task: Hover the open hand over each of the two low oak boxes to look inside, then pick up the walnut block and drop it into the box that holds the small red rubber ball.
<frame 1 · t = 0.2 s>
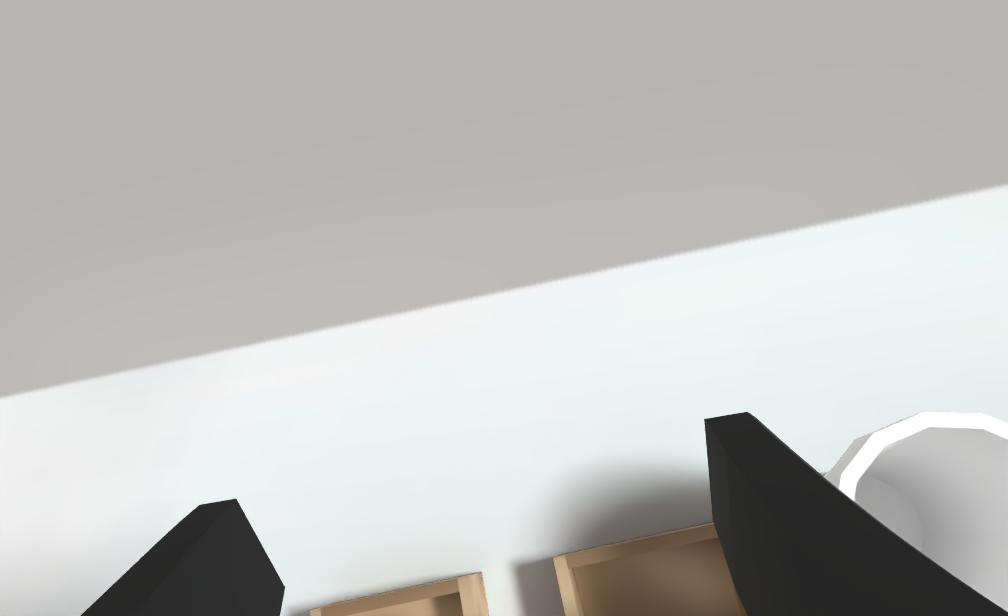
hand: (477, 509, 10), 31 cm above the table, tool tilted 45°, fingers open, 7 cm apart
foam cup: (858, 529, 35), on the table
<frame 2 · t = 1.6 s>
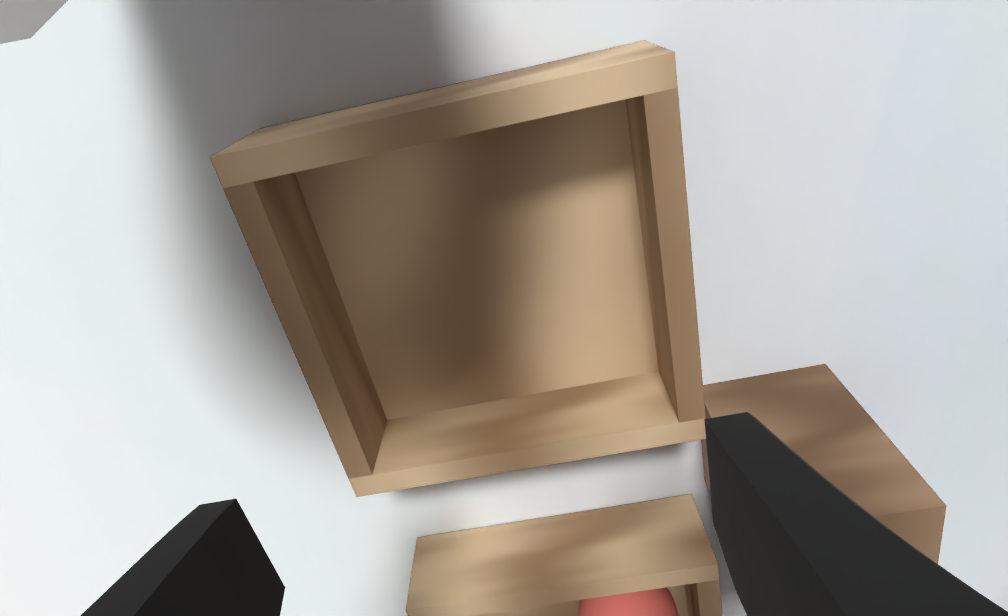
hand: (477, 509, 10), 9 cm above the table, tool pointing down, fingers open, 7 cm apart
walnut block: (761, 424, 21), on the table
box with ball: (573, 607, 25), on the table
box empty: (489, 265, 18), on the table
red ball: (620, 576, 23), resting on box with ball
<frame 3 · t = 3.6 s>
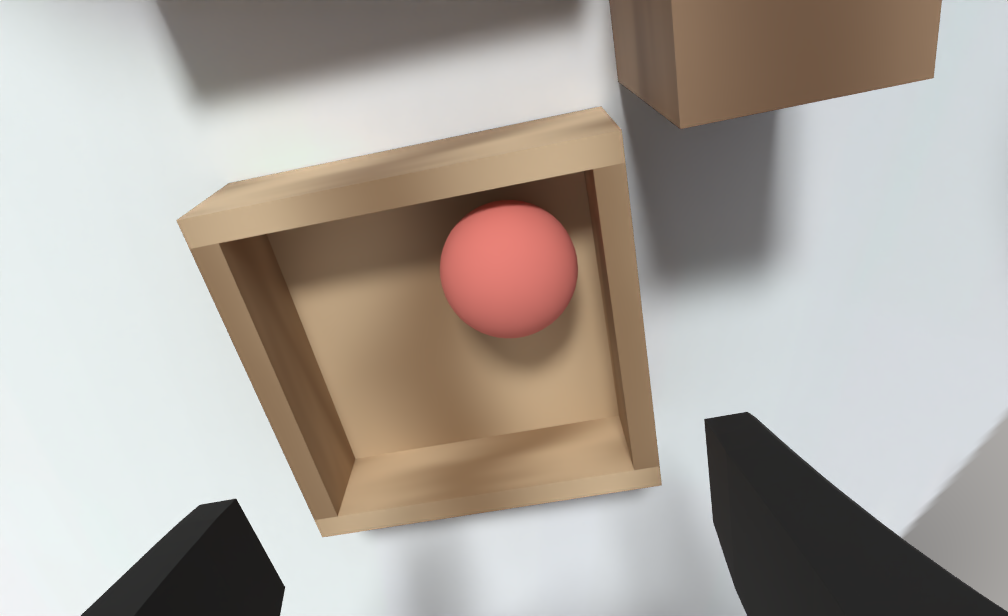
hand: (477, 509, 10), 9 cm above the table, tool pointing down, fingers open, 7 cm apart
box with ball: (454, 313, 18), on the table
red ball: (508, 244, 17), resting on box with ball
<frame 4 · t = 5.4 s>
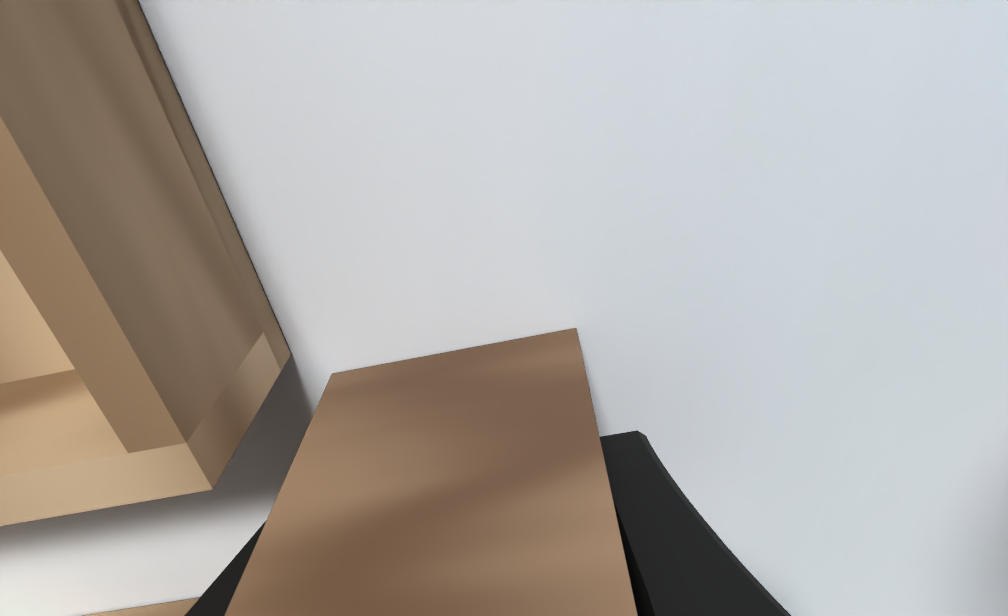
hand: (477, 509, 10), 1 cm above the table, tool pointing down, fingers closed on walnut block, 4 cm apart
walnut block: (480, 448, 11), on the table, touching gripper
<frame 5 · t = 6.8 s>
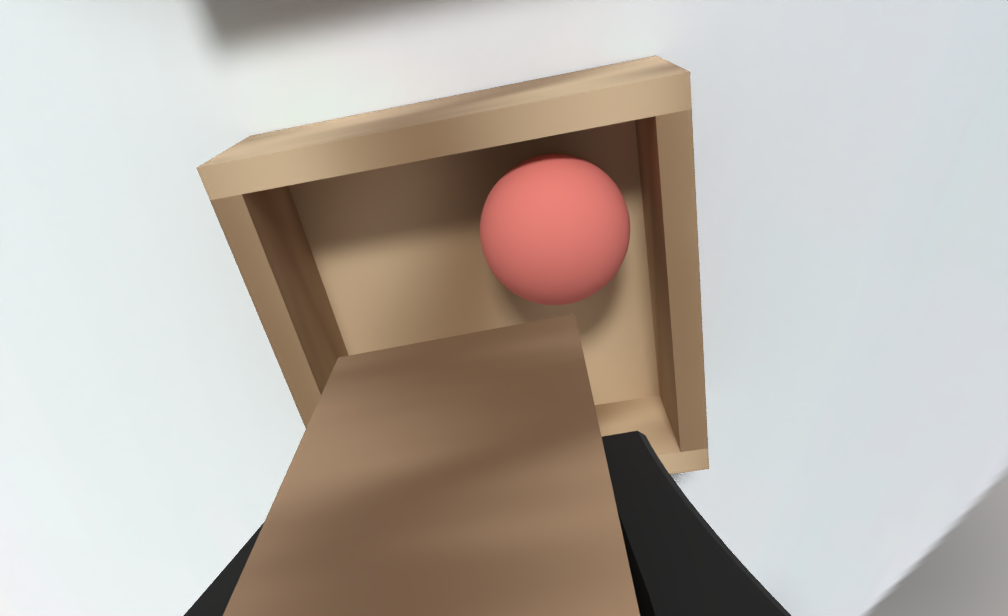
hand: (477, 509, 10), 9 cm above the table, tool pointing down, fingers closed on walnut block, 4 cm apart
walnut block: (481, 431, 11), point 7 cm above the table, touching gripper
box with ball: (488, 282, 17), on the table
red ball: (549, 206, 16), resting on box with ball
when the fingers open (4 cm above the table, at t = 8.1 s): walnut block drops 2 cm, resting on box with ball.
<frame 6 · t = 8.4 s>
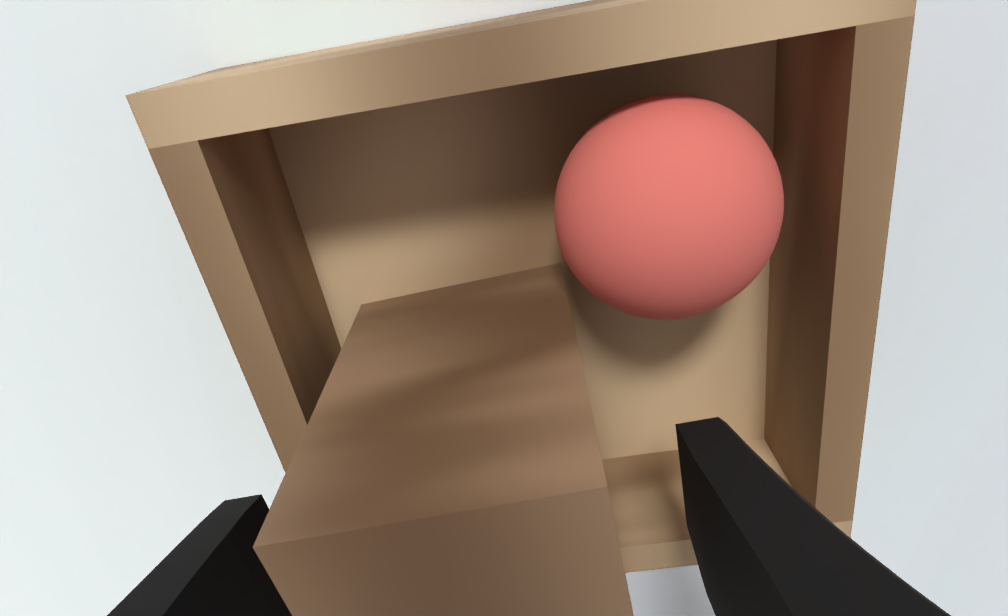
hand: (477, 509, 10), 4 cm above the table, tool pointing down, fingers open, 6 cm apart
walnut block: (483, 368, 13), resting on box with ball
box with ball: (544, 284, 13), on the table
red ball: (642, 179, 11), resting on box with ball
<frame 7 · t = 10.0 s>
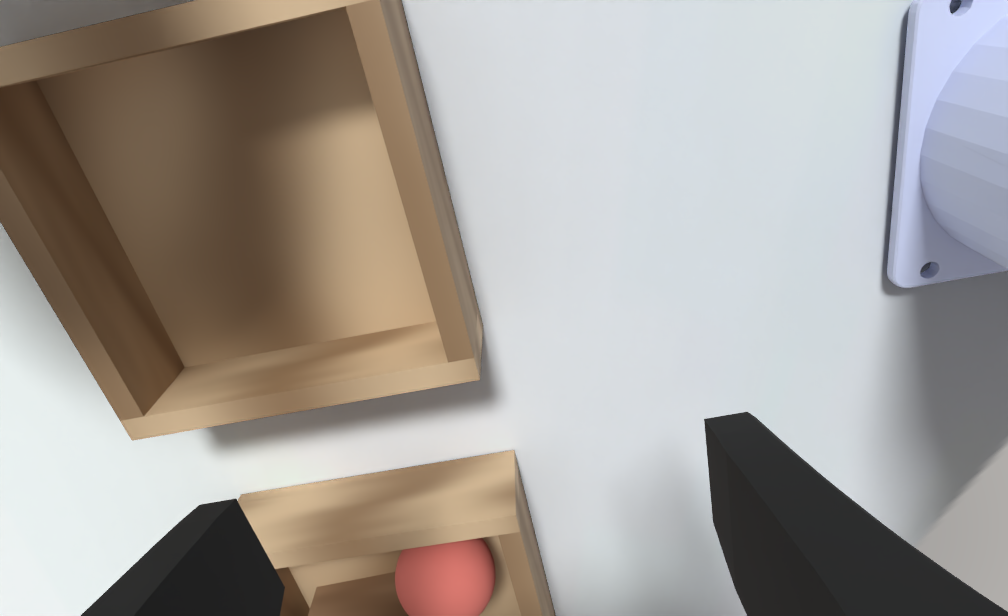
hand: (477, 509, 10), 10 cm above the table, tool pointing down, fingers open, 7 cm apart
walnut block: (383, 611, 25), resting on box with ball
box with ball: (412, 569, 24), on the table
box empty: (270, 204, 17), on the table
red ball: (449, 535, 23), resting on box with ball
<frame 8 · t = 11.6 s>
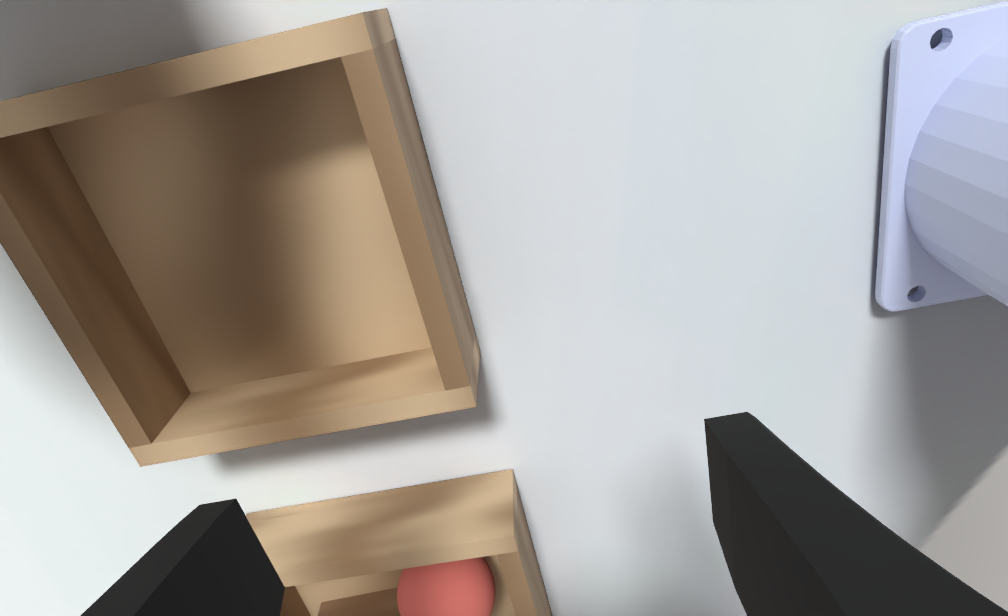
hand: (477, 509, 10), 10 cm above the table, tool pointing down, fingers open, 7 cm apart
box with ball: (414, 584, 25), on the table
box empty: (271, 236, 18), on the table
red ball: (450, 552, 23), resting on box with ball
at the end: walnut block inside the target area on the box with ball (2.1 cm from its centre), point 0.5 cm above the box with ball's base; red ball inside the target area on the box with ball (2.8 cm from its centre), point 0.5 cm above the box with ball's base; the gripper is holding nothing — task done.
